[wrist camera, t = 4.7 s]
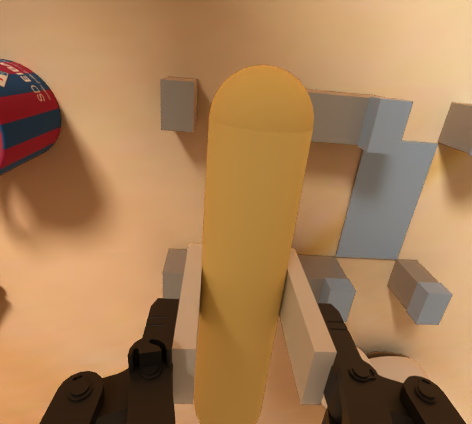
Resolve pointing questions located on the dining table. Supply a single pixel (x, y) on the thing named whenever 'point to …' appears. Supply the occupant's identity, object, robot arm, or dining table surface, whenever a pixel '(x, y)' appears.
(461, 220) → the dining table surface
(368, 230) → the grey block frame
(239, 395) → the yellow round-top post
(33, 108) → the mug
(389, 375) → the spread jar
